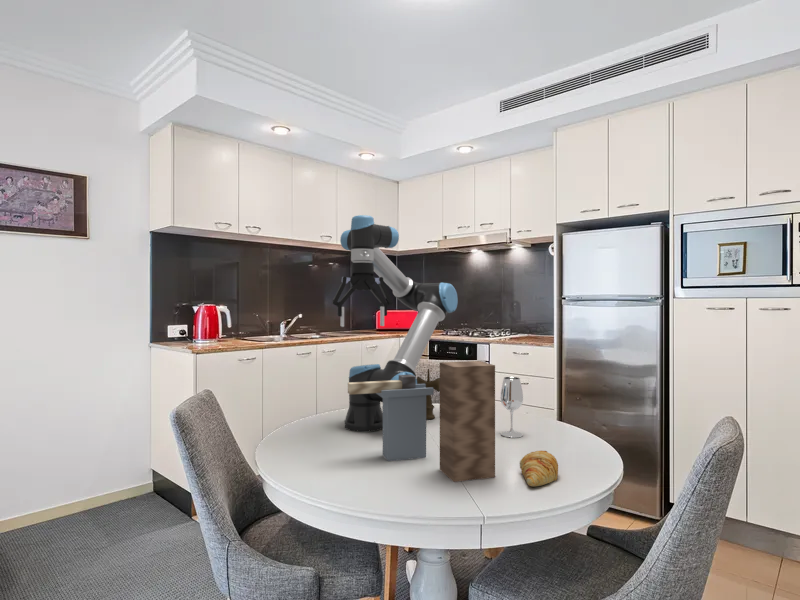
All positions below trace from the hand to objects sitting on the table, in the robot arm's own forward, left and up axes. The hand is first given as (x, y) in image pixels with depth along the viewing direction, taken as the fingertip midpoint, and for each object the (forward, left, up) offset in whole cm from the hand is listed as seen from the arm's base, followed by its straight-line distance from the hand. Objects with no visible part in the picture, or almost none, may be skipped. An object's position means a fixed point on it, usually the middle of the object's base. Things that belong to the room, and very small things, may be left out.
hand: (362, 326), depth 165 cm
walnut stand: (+30, -30, -39) cm, 58 cm away
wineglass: (+52, +7, -39) cm, 65 cm away
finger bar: (+6, -17, -19) cm, 26 cm away
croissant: (+49, -33, -39) cm, 71 cm away
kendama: (+25, +32, -39) cm, 56 cm away
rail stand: (+13, -15, -39) cm, 44 cm away
